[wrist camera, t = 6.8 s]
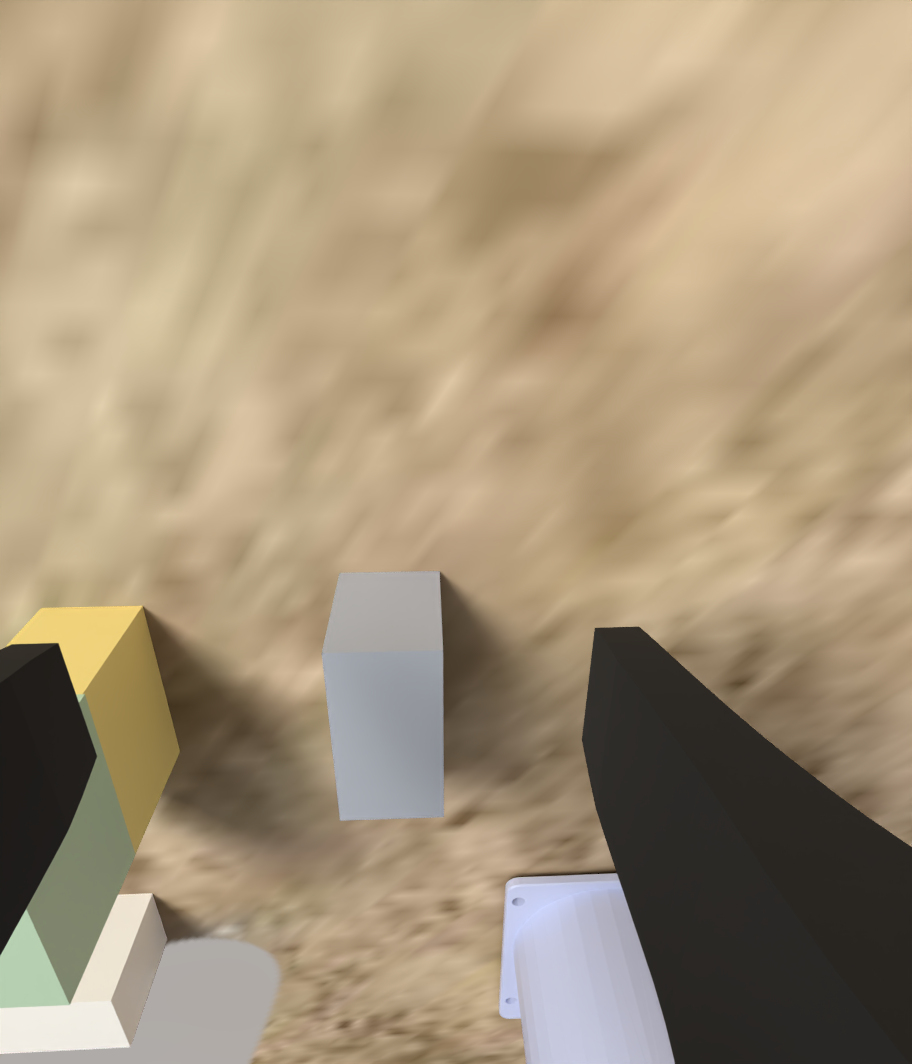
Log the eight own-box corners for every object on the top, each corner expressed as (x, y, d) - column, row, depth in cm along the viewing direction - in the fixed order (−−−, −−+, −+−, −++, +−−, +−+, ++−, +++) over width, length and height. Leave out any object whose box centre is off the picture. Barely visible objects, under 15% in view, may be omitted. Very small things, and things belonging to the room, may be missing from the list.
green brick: (135, 854, 19) (69, 1004, 16) (29, 858, 19) (-62, 1010, 15) (84, 694, 16) (-9, 832, 13) (-39, 696, 16) (-169, 837, 13)
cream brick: (153, 891, 26) (110, 1001, 23) (168, 936, 27) (130, 1047, 24) (-3, 897, 26) (-70, 1009, 22) (20, 943, 27) (-40, 1055, 24)
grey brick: (440, 719, 23) (443, 816, 19) (353, 721, 23) (340, 820, 19) (439, 569, 20) (442, 650, 16) (339, 571, 20) (322, 653, 16)
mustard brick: (180, 751, 23) (135, 854, 19) (91, 754, 23) (29, 858, 19) (143, 605, 20) (82, 694, 16) (41, 607, 20) (-42, 697, 16)
